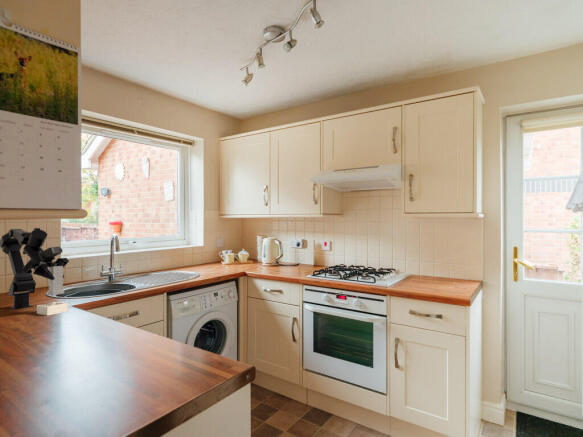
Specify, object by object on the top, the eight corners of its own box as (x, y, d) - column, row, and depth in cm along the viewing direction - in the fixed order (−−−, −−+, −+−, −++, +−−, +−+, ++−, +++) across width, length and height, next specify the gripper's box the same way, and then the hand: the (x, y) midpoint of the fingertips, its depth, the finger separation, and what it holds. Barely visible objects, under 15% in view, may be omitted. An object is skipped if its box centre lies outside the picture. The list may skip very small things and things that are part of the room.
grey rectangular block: (47, 294, 145) (47, 266, 146) (57, 292, 149) (58, 265, 150) (53, 295, 143) (53, 266, 144) (64, 293, 147) (64, 265, 148)
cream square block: (36, 313, 142) (36, 305, 142) (57, 309, 149) (57, 301, 149) (47, 315, 138) (47, 306, 138) (67, 311, 145) (67, 303, 145)
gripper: (28, 241, 139) (51, 267, 136) (65, 240, 157) (86, 263, 155) (12, 260, 139) (34, 287, 137) (50, 257, 158) (71, 280, 156)
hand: (58, 278), depth 146 cm, fingers closed on grey rectangular block, 5 cm apart
